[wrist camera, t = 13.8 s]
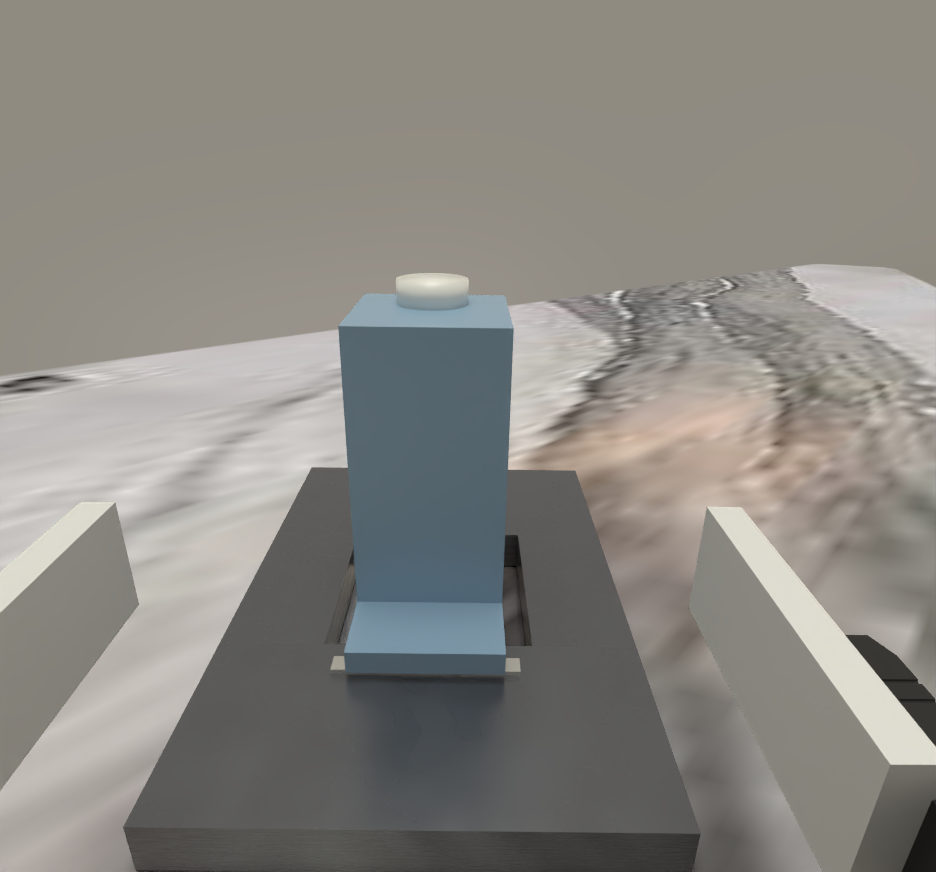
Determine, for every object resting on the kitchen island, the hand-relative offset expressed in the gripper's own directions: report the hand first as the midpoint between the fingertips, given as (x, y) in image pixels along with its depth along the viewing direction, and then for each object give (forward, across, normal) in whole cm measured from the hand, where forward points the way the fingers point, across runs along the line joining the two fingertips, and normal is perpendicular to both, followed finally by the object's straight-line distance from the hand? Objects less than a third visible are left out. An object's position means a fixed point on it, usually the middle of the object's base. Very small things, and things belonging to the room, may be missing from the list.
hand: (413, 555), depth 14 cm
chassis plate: (+8, 0, -8) cm, 12 cm away
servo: (+8, 0, -8) cm, 12 cm away
